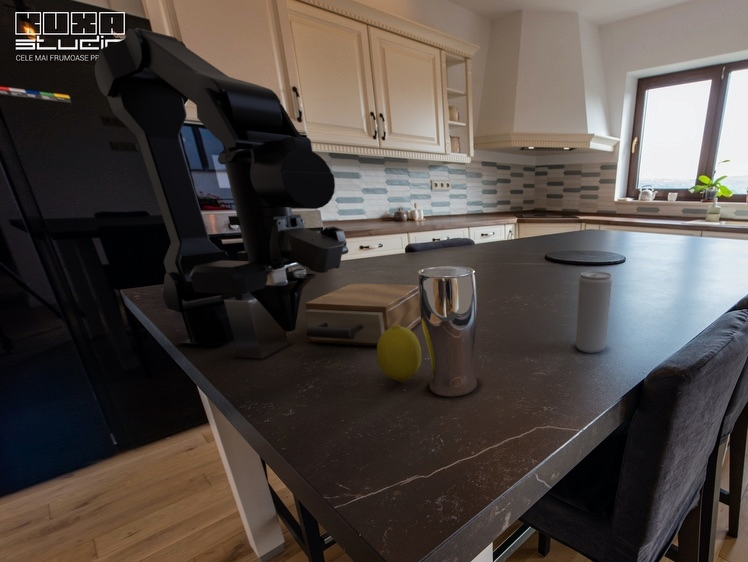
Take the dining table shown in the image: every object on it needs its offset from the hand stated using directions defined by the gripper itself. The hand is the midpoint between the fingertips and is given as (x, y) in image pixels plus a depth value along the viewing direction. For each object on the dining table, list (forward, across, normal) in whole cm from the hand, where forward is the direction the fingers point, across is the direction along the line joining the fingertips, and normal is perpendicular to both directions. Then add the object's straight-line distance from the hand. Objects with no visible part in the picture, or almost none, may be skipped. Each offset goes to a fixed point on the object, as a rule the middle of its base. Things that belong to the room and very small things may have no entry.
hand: (289, 330), depth 52 cm
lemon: (+6, 0, -15) cm, 17 cm away
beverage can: (+6, +16, -40) cm, 44 cm away
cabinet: (+6, +19, -1) cm, 20 cm away
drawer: (+5, +15, -1) cm, 16 cm away
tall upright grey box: (+6, +7, +11) cm, 14 cm away
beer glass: (+6, 0, -22) cm, 23 cm away
